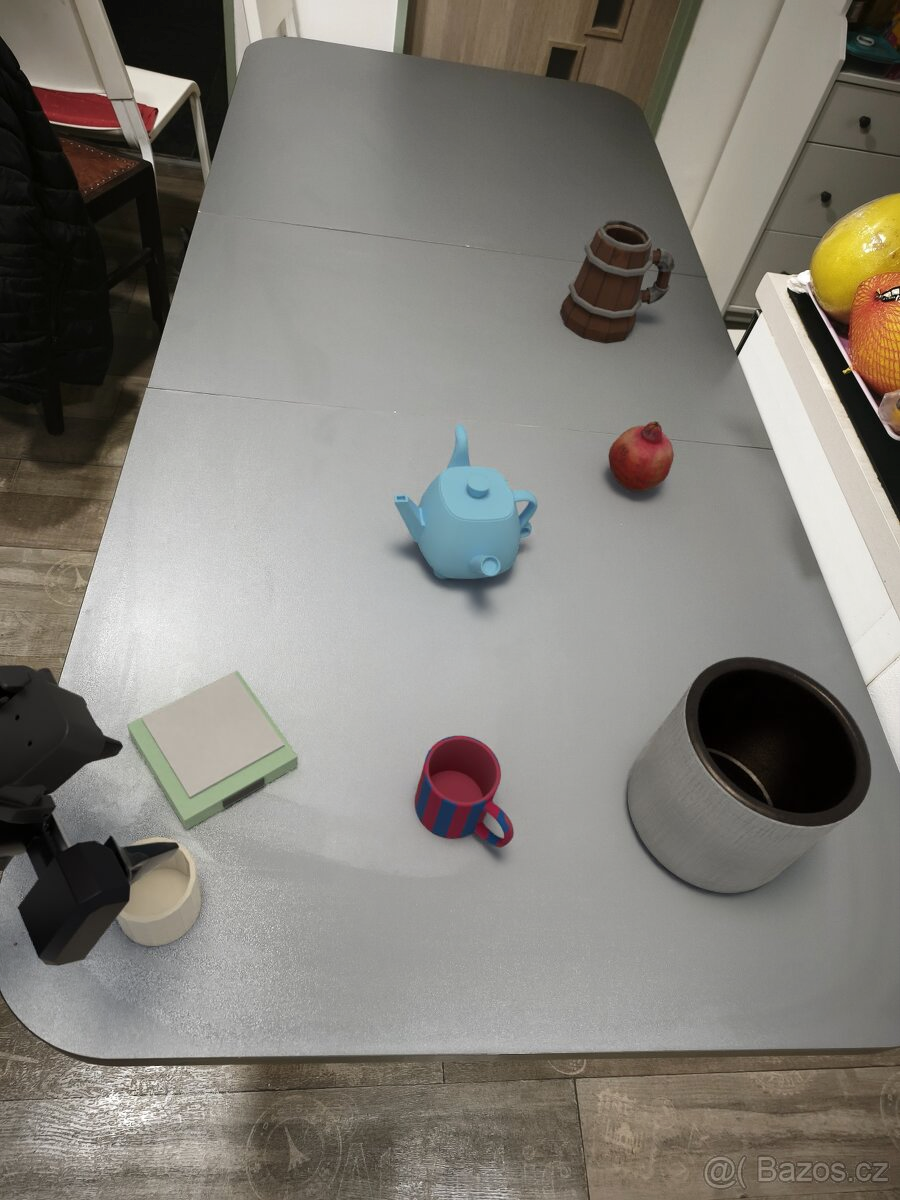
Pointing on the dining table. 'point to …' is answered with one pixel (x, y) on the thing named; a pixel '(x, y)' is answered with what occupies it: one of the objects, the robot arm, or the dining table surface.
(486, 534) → the teapot
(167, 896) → the ramekin
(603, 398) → the dining table surface
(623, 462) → the fruit
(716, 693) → the planter
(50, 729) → the robot arm
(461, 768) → the cup
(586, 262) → the mug
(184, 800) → the scale
